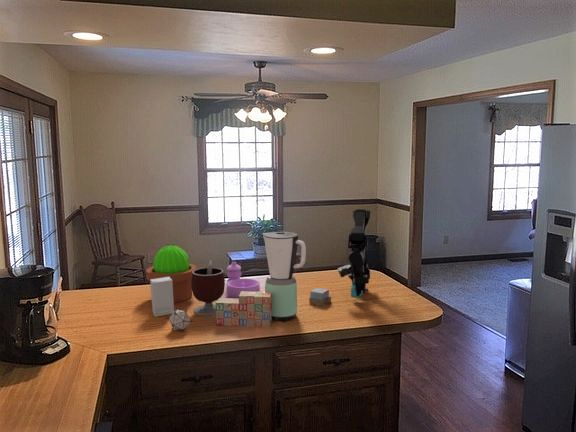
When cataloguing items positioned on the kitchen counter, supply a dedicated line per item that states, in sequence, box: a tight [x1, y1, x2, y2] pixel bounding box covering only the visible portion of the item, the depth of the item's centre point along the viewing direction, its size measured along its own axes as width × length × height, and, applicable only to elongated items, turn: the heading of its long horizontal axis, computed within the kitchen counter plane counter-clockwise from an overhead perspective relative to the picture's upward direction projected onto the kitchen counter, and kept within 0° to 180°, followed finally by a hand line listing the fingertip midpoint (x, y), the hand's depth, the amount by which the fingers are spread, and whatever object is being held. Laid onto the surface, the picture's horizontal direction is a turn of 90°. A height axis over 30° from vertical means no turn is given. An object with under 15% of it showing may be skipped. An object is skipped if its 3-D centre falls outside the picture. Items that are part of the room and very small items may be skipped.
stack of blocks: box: [215, 291, 273, 328], centre depth 193 cm, size 21×6×12 cm, turn 85°
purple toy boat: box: [225, 261, 261, 299], centre depth 232 cm, size 25×15×13 cm, turn 24°
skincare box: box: [150, 277, 175, 317], centre depth 204 cm, size 8×6×15 cm
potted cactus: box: [145, 244, 198, 303], centre depth 225 cm, size 22×22×25 cm
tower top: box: [309, 287, 330, 300], centre depth 218 cm, size 6×6×3 cm
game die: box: [166, 307, 193, 333], centre depth 186 cm, size 9×8×10 cm
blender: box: [261, 231, 307, 322], centre depth 198 cm, size 19×13×35 cm
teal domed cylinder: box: [350, 283, 363, 299], centre depth 219 cm, size 5×5×5 cm
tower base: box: [308, 295, 332, 307], centre depth 218 cm, size 7×7×3 cm
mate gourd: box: [191, 259, 226, 316], centre depth 208 cm, size 16×14×20 cm
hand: (356, 293), depth 219 cm, fingers closed on teal domed cylinder, 5 cm apart
